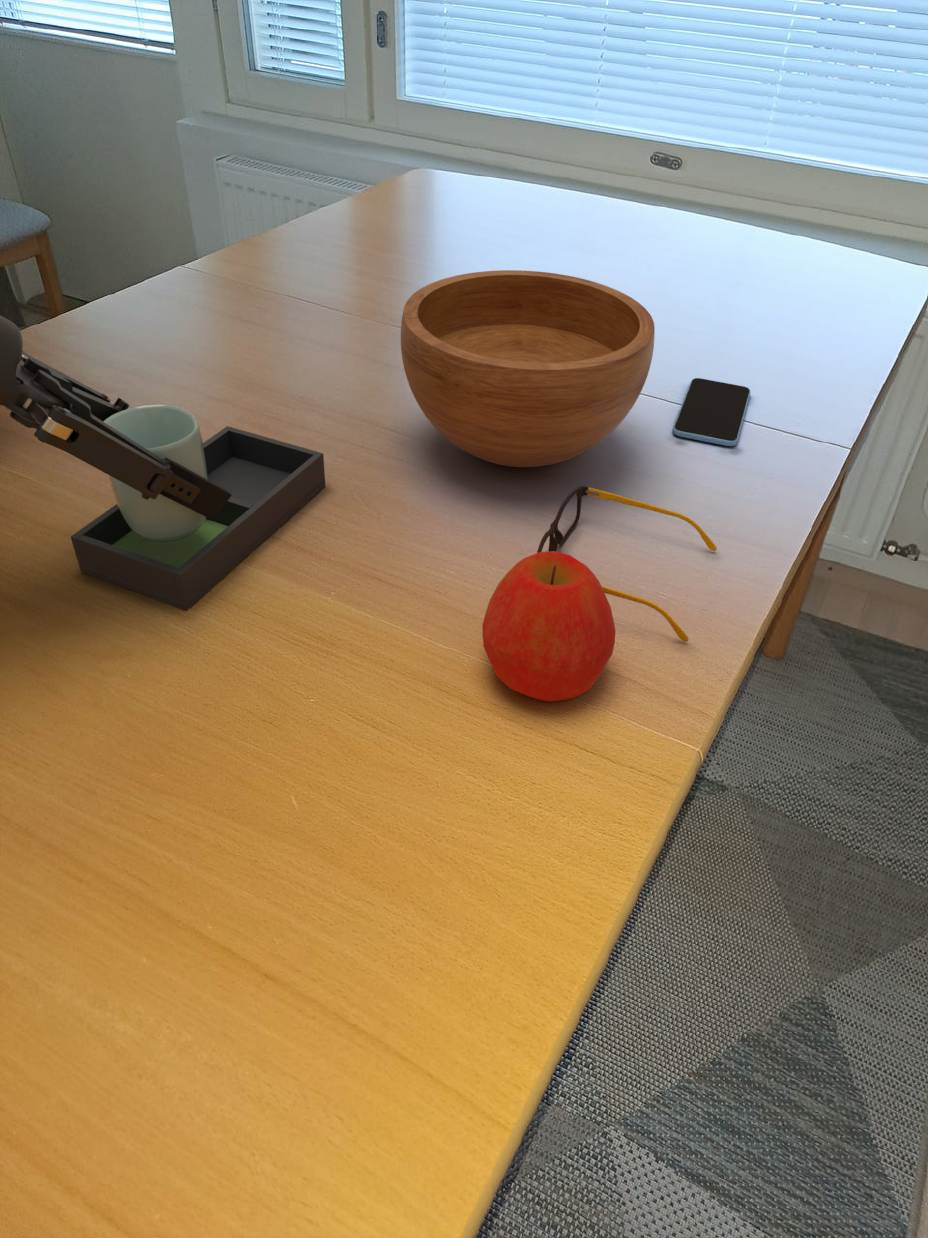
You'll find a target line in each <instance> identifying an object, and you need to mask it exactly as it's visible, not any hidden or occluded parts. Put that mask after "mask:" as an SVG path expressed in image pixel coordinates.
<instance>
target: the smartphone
mask: <svg viewBox="0 0 928 1238" xmlns="http://www.w3.org/2000/svg"><path fill="white" fill-rule="evenodd" d="M750 396H751V389H750V388H749V387H747V386H744V385H739V384H734V383H728V382H723V381H717V380H712V379H708V378H707V379H706V378H701V377H695V378H693V379H691V381H690V383H689V384H688V387H687V389H686V393H685V395H684V398H683V401H682V403H681V405H680V408H679V409H678V411H677V414H676V417H675V419H674V422H673V426H672V434H673V435H675V436H677V437H681V438H686V439H690V440H695V441H700V442H706V443H710V444H715V445H721V446H726V447H733V446H736V445H737V444H738V442H739V438H740V434H741V430H742V426H743V423H744V419H745V416H746V411H747V408H748V404H749V399H750Z"/></svg>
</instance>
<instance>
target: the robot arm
mask: <svg viewBox="0 0 928 1238" xmlns="http://www.w3.org/2000/svg"><path fill="white" fill-rule="evenodd" d="M23 342H24V340H23V336H22V333H21V330H20V329H19V327H18V326H17V324H15V323H14V322H13V321H11V320H9V319H7V318H6V317H4V316H3V315H1V314H0V406H2V407H5V408H6V409H7V410H9V411H10V412H9V413H8V414H9V417H10V418H11V419H13V420H15V421H16V422H17V423H19V424H21V425H22V426H24V427H26V428H28V429H36V430H35V431H34V433H33V435H34V437H35V438H37V440H38V441H40V442H41V443H43V444H47V445H49V446H52V447H53V448H56V449H58V450H60V451H63V452H66V453H67V454H69V455H71V456H73V457H74V458H76V459H78V460H81V461H82V462H84V463H86V464H87V465H90V466H91V467H93V468H95V469H97V470H99V471H100V472H102V473H104V474H106V475H107V476H108V475H110V476H112V477H113V478H115V479H117V480H119V481H121V482H123V483H125V484H126V485H128V486H130V487H132V488H134V489H136V490H137V491H139V492H141V493H142V498H144V499H146V500H148V499H149V498H152V499H156V498H157V496H158V495H159V494H161V495H163V496H165V497H167V498H169V499H171V500H173V501H175V502H177V503H179V504H181V505H183V506H185V507H187V508H189V509H191V510H193V511H195V512H197V513H199V514H201V515H203V516H205V517H207V518H209V519H211V520H213V521H214V519H215V518H216V517H217V515H218V514H219V512H220V511H221V510H222V508H223V507H224V505H225V504H226V503H227V501H228V500H229V498H230V497H231V496H232V495H231V493H230V492H229V491H227V490H226V489H224V488H222V487H220V486H218V485H216V484H215V483H213V482H211V481H209V480H207V479H205V478H203V477H202V476H200V475H198V474H196V473H194V472H192V471H190V470H189V469H187V468H185V467H183V466H181V465H179V464H178V463H176V462H174V461H172V460H170V459H168V458H165V460H164V459H161V458H159V457H158V456H156V455H155V454H153V453H152V452H150V451H148V450H147V449H145V448H144V447H142V446H141V445H139V444H137V443H136V442H134V441H133V440H131V439H130V438H128V437H127V436H125V435H123V434H122V433H120V432H119V431H117V430H116V429H114V428H112V427H111V426H109V425H108V424H106V423H105V422H104V421H105V420H106V419H107V418H109V417H110V416H112V415H114V414H116V413H118V412H120V411H123V410H126V409H129V408H130V404H129V403H128V402H127V401H125V400H124V399H122V398H121V397H118V398H117V399H116V401H115V402H114V403H111V399H110V398H109V396H108V395H107V394H105V393H101V392H100V391H97V390H95V389H94V388H91V387H90V386H88V385H86V384H84V383H82V382H81V381H79V380H77V379H75V378H73V377H71V376H69V375H67V374H65V373H63V372H62V371H60V370H58V369H56V368H55V367H52V366H50V365H48V364H46V363H45V362H43V361H41V360H39V359H37V358H35V357H34V356H31V355H29V354H28V353H27V352H24V351H23V347H24V343H23Z"/></svg>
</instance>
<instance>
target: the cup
mask: <svg viewBox="0 0 928 1238" xmlns="http://www.w3.org/2000/svg"><path fill="white" fill-rule="evenodd" d="M104 422H105V423H106V424H108V425H109V426H111V427H112V428H114V429H116V430H117V431H119V432H120V433H122V434H123V435H125V436H127V437H128V438H130V439H131V440H133V441H134V442H136V443H137V444H139V445H141V446H142V447H144V448H145V449H147V450H148V451H150V452H152V453H153V454H155V455H156V456H158V457H159V458H161V459H164V460H165V458H168V459H170V460H172V461H174V462H176V463H178V464H179V465H181V466H183V467H185V468H187V469H189V470H190V471H192V472H194V473H196V474H198V475H200V476H202V477H203V478H205V479H207V480H208V476H207V468H206V461H205V454H204V448H203V443H204V442H203V438H202V432H201V426H200V424H199V421H198V419H197V418H196V416H194V415H193V413H191V412H190V411H188V410H187V409H185V408H182V407H180V406H176V405H172V404H166V403H165V404H164V403H163V404H162V403H161V404H160V403H155V404H145V405H138V406H133V407H128V409H126V410H123V411H120V412H118V413H116V414H114V415H112V416H110V417H109V418H107V419H106V420H105V421H104ZM107 476H108V480H109V484H110V487H111V490H112V493H113V497H114V499H115V502H116V504H117V505H118V507H119V510H120V512H121V514H122V516H123V518H124V520H125V521H126V523H127V524H128V525H129V527H130V528H131V529H132V530H133V531H134V532H135V533H136V534H138V535H139V536H141V537H143V538H144V539H146V540H149V541H153V542H160V543H165V542H173V541H177V540H180V539H183V538H185V537H188V536H189V535H191V534H193V533H194V532H196V531H197V530H198V529H199V528H200V527H201V526H202V524H203V523H204V521H205V519H206V517H205V516H203V515H201V514H199V513H197V512H195V511H193V510H191V509H189V508H187V507H185V506H183V505H181V504H179V503H177V502H175V501H173V500H171V499H169V498H167V497H165V496H163V495H161V494H159V495H158V496H157V498H156V499H152V498H149V499H148V500H146V499H144V498H142V493H141V492H139V491H137V490H136V489H134V488H132V487H130V486H128V485H126V484H125V483H123V482H121V481H119V480H117V479H115V478H113V477H112V476H110V475H108V474H107Z"/></svg>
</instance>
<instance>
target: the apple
mask: <svg viewBox="0 0 928 1238" xmlns="http://www.w3.org/2000/svg"><path fill="white" fill-rule="evenodd" d="M601 586H602V585H601V581H600V580H599V579H598V577H597V576H596V575H595V574H594V572H593V571H592V570H591V569H590V568H589V566H587V565H586V564H584V563H583V562H581V561H580V560H579V559H577V558H576V557H574V556H573V555H571V554H569V553H568V554H567V553H563V552H558V551H556V552H555V551H550V552H548V551H542V552H539V553H537V552H535V553H534V554H531V555H529V556H526V557H524V558H522V559H521V560H519V561H517V563H516V564H514V566H512V568H511V569H510V570H509V571H508V572H507V573H506V574H505V575H504V576H503V577H502V578H501V580H500V581H499V583H498V584H497V586H496V588H495V589H494V591H493V593H492V595H491V597H490V599H489V602H488V604H487V607H486V610H485V613H484V618H483V621H482V625H481V626H482V643H483V648H484V651H485V653H486V655H487V658H488V660H489V662H490V665H491V667H492V669H493V671H494V673H495V675H496V677H497V678H498V679H499V680H500V681H501V682H502V683H504V684H505V685H506V686H507V687H508V688H509V689H510V690H513V691H514V692H517V693H519V694H522V695H524V696H527V697H529V698H533V699H535V700H541V701H544V702H549V703H551V702H558V701H566V700H572V699H575V698H578V696H580V695H582V694H584V693H586V692H588V691H590V690H591V688H592V687H593V685H594V684H595V683H596V681H597V680H598V679H599V678H600V676H601V674H602V672H603V670H605V667H606V665H607V664H608V662H609V660H610V659H611V658H612V656H613V653H614V648H615V645H616V625H615V620H614V617H613V612H612V607H611V605H610V602H609V599H608V598H607V595H606V593H604V591H603V589H602V587H601Z"/></svg>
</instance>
